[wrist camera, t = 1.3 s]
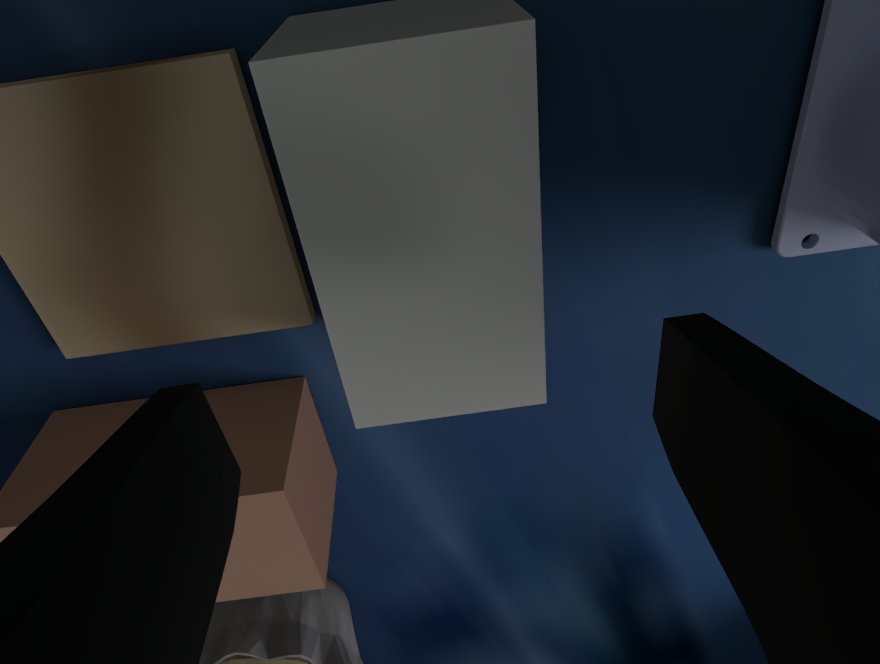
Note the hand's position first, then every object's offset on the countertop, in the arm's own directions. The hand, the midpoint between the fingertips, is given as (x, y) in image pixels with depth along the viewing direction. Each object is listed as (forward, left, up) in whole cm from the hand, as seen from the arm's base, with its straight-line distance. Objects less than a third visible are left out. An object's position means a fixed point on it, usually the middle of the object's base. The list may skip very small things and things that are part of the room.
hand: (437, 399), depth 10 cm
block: (0, 0, -9) cm, 9 cm away
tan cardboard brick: (+9, +9, -9) cm, 16 cm away
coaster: (+8, 0, -9) cm, 12 cm away
